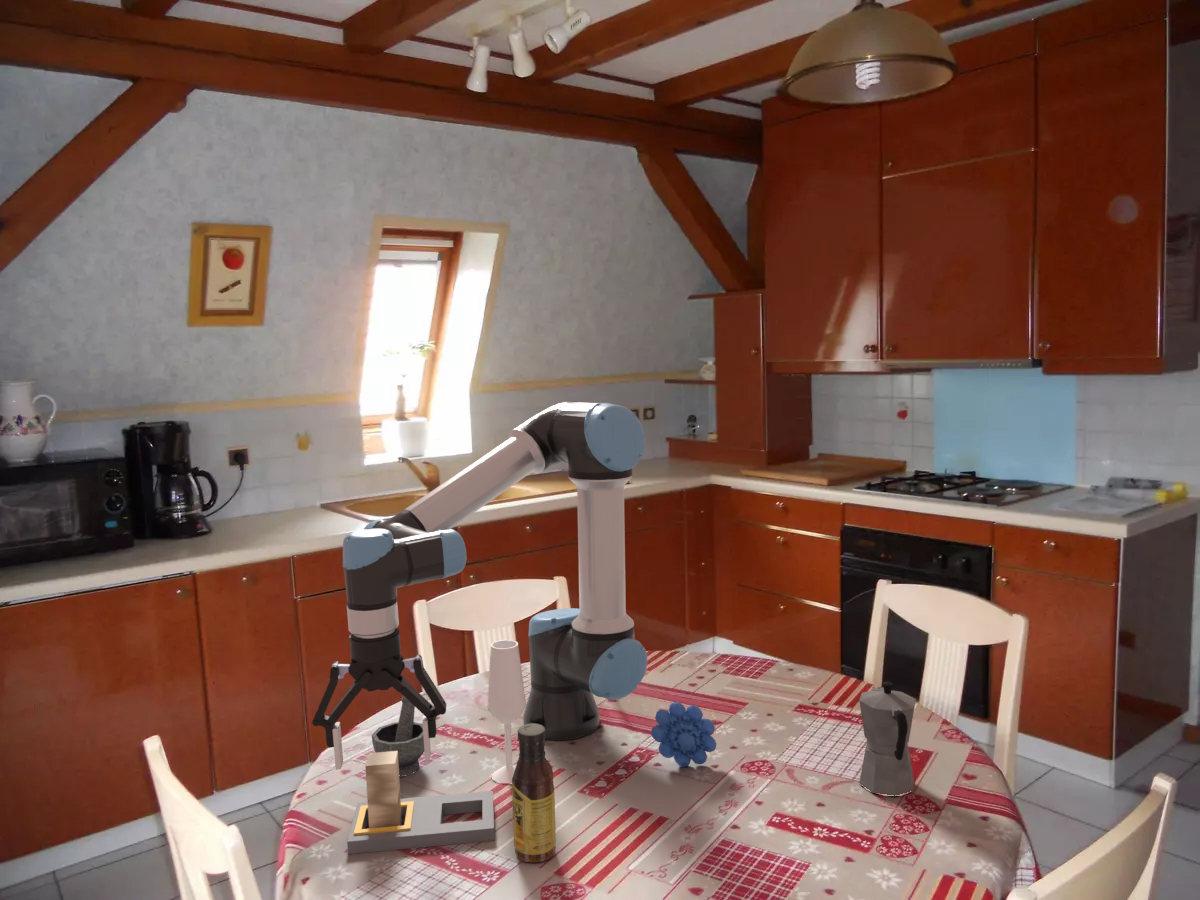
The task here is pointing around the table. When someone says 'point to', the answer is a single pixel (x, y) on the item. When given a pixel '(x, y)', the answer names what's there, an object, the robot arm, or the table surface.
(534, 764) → the sauce bottle
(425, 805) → the peg board
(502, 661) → the champagne flute
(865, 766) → the coffeepot
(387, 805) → the wooden peg
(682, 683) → the table surface
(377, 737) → the mortar and pestle
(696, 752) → the blue flower
